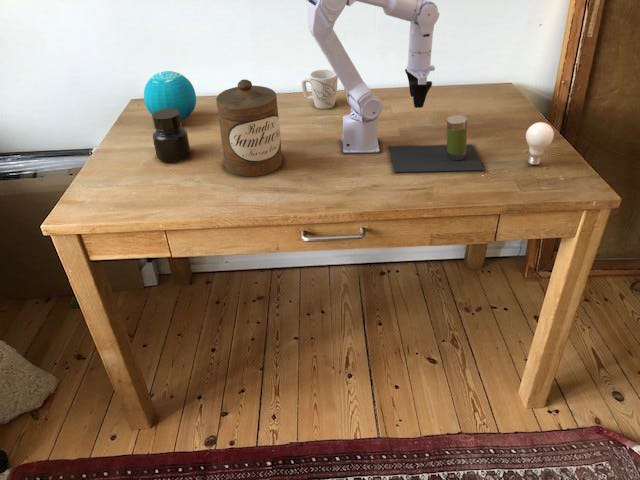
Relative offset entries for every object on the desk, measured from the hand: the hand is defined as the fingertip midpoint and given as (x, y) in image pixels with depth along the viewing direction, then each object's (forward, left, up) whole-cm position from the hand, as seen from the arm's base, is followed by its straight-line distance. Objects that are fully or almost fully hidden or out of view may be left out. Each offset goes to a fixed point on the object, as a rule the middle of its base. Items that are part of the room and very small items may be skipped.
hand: (416, 101), depth 146 cm
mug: (-26, +25, -11) cm, 38 cm away
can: (+9, -13, -10) cm, 19 cm away
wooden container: (-43, -13, -11) cm, 46 cm away
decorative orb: (-70, +15, -11) cm, 73 cm away
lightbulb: (+28, -17, -11) cm, 34 cm away
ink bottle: (-65, -8, -11) cm, 67 cm away
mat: (+4, -13, -10) cm, 17 cm away
